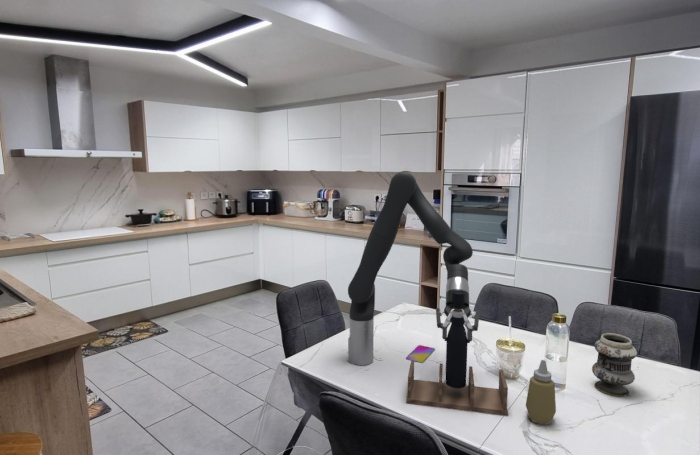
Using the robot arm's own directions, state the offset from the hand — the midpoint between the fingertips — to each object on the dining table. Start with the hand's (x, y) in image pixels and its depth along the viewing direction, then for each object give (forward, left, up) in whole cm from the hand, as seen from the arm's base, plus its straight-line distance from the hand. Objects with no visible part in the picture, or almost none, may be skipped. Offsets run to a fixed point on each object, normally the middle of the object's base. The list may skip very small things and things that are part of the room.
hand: (457, 341), depth 128 cm
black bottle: (0, +2, -15) cm, 15 cm away
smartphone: (-13, +33, -20) cm, 41 cm away
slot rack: (0, +2, -20) cm, 20 cm away
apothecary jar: (+51, +20, -20) cm, 58 cm away
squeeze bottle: (+24, -4, -20) cm, 32 cm away
